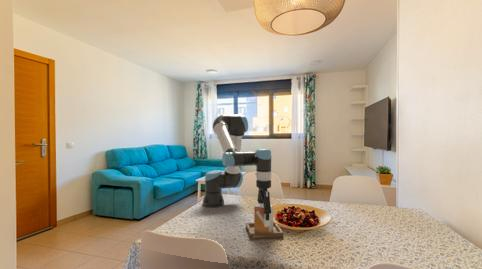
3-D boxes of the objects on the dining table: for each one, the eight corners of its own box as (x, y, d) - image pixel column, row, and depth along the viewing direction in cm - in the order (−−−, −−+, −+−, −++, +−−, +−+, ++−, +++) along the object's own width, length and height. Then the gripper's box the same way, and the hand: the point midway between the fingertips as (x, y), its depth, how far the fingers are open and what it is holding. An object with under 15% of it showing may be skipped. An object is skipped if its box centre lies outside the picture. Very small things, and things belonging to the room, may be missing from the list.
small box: (254, 231, 116) (254, 206, 116) (259, 227, 122) (259, 202, 122) (269, 235, 113) (269, 208, 113) (273, 230, 118) (273, 204, 118)
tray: (246, 227, 124) (246, 223, 124) (275, 226, 126) (275, 221, 126) (250, 239, 110) (250, 234, 110) (283, 237, 112) (283, 232, 112)
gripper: (252, 175, 130) (252, 213, 130) (261, 185, 105) (261, 231, 105) (265, 174, 130) (265, 212, 131) (277, 184, 106) (277, 230, 106)
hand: (263, 221), depth 118 cm, fingers open, 13 cm apart
